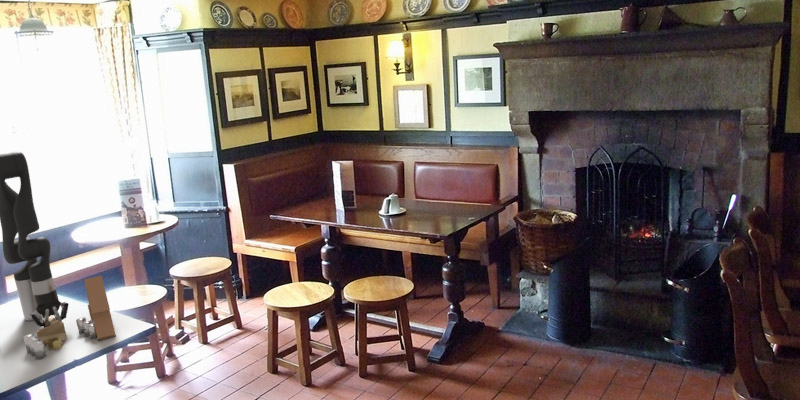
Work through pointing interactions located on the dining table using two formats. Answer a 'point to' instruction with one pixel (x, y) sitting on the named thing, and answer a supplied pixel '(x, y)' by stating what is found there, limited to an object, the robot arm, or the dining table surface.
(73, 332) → the dining table surface
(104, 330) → the tan tall stepped post
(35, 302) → the robot arm
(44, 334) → the wooden l-bracket
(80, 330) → the spacers
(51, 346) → the nut
